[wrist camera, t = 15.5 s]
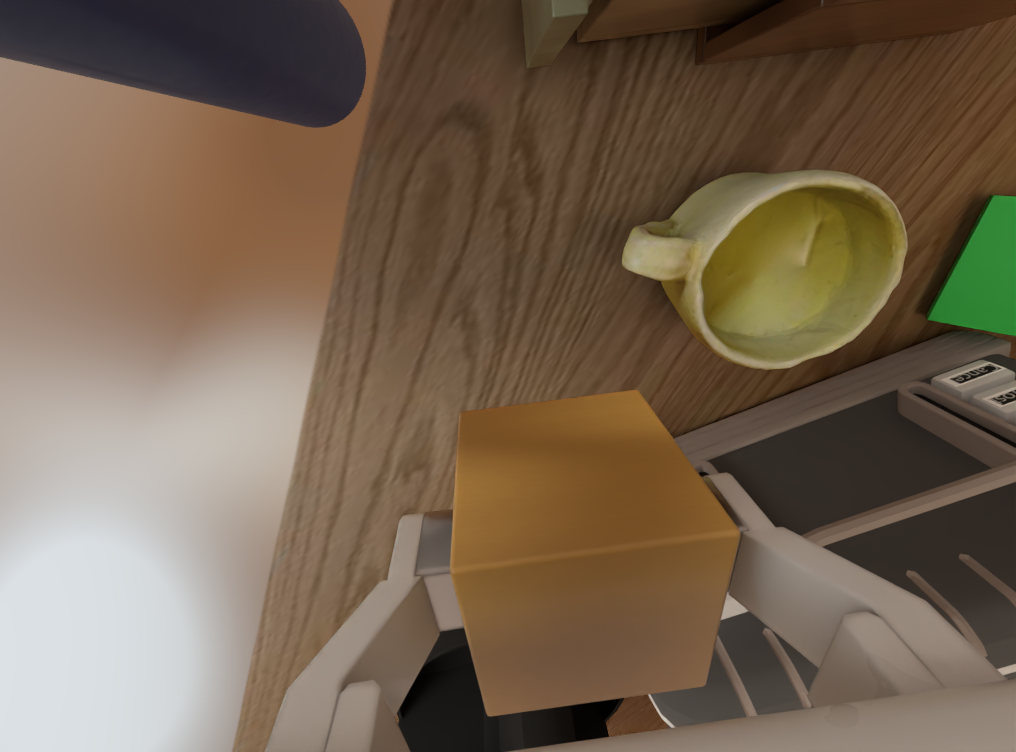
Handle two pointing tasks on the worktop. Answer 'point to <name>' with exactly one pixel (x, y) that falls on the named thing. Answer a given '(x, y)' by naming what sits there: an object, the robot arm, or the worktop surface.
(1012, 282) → the bracket
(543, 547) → the block
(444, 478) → the worktop surface
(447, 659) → the container
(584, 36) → the drawer
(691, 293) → the mug
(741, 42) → the cabinet
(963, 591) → the toaster
